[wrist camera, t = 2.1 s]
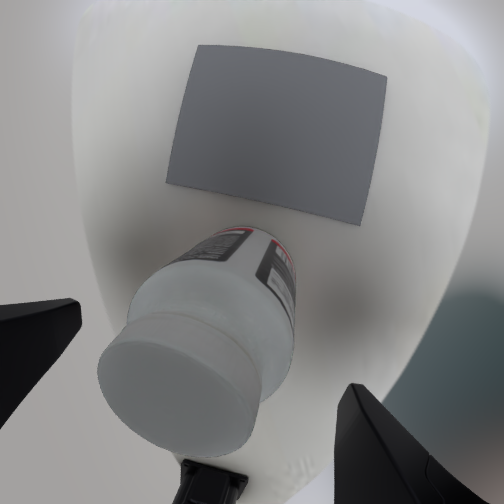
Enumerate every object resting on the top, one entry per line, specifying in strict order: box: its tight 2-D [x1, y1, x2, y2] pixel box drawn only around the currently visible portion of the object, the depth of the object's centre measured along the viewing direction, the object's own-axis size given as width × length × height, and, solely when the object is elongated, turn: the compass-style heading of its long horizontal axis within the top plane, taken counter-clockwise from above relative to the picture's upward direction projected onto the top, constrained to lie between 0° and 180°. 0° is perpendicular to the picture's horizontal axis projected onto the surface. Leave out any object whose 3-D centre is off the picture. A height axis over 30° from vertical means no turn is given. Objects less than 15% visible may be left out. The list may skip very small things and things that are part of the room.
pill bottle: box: [97, 227, 296, 457], centre depth 10 cm, size 5×5×10 cm
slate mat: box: [166, 45, 387, 226], centre depth 12 cm, size 8×10×1 cm
